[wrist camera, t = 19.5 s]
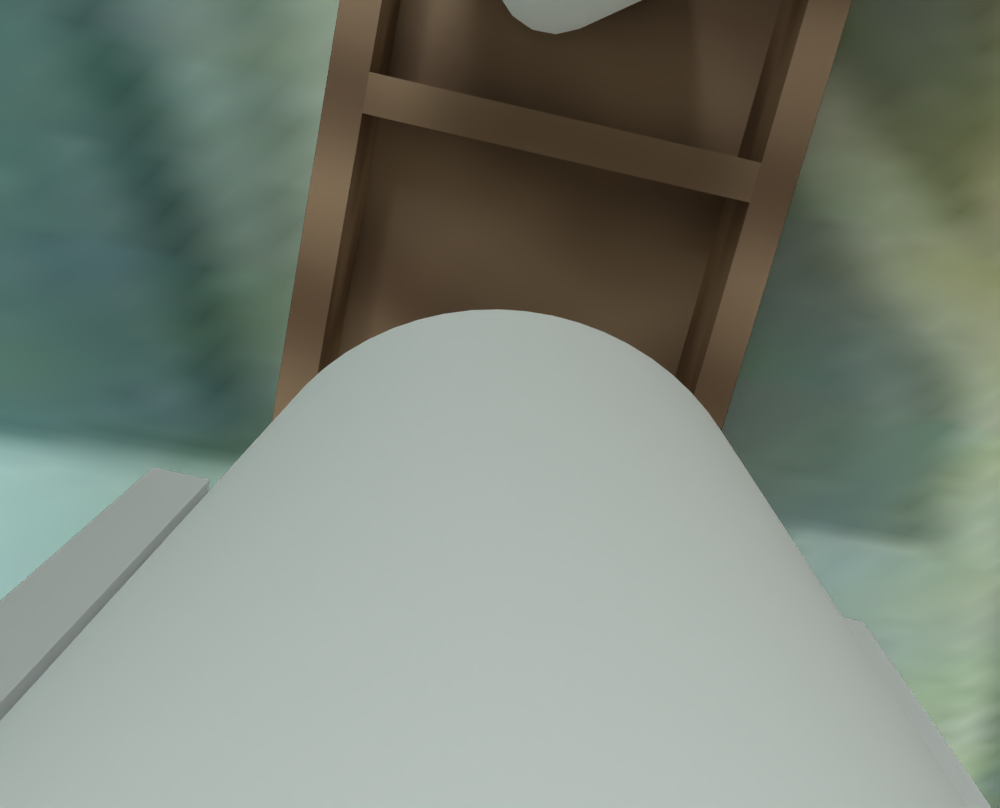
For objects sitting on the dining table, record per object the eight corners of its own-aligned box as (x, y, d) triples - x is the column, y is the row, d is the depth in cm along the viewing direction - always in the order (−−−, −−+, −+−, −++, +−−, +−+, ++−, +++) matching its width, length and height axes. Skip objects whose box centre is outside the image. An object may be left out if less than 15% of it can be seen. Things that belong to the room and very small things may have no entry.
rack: (432, -378, 28) (415, -471, 24) (890, -265, 29) (953, -336, 24) (291, 459, 36) (259, 504, 32) (655, 539, 36) (671, 593, 32)
